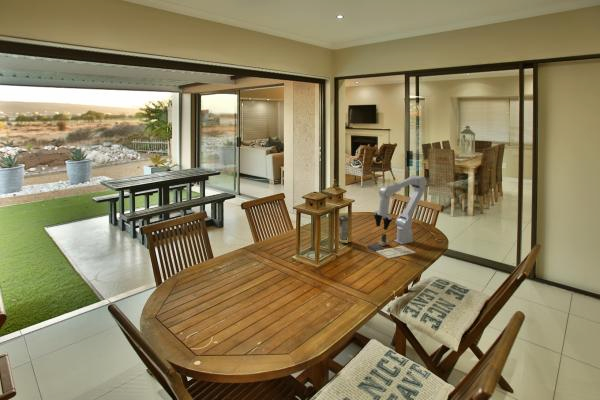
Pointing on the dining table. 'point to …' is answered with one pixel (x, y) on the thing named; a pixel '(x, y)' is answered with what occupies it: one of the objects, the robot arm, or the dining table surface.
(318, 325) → the dining table surface
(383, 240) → the stamp
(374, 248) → the ink pad
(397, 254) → the paper card
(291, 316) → the dining table surface
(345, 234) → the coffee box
